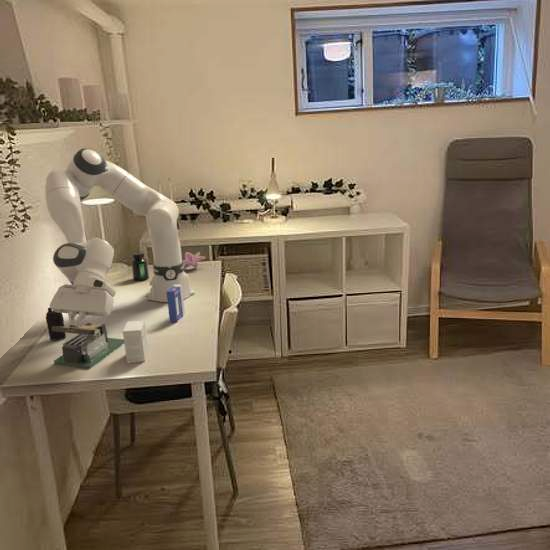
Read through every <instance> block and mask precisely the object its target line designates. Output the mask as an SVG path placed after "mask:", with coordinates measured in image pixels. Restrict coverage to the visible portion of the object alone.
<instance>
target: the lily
mask: <svg viewBox="0 0 550 550" xmlns="http://www.w3.org/2000/svg"><path fill="white" fill-rule="evenodd" d="M200 254H201V251H198V252H196V253H195V254H193V253H191V252H189V251H186V252H185V253H184V257H185V259H182V261H183V264H184V270H186V269H187V268H189V267H190V266H191V267H194V269H195V272H197V268H198V266H199V265H198V264H199V263H198V262H200V261H202V260H205V259H206V258H207V257H206V256H204V255H203V256H202V255H200Z"/></svg>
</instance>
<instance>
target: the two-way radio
mask: <svg viewBox="0 0 550 550" xmlns="http://www.w3.org/2000/svg"><path fill="white" fill-rule="evenodd" d="M45 320H46V326H47V331H48V335H49V339H50V340H52V341H57V340H58V341H59V340H63V339H65V338H66V333H65V332H55V331H52V326H61V327H65V321H64V315H63V313H58V312H55V311H53V310H52V309H51V308H50V307H47V312H46V314H45Z"/></svg>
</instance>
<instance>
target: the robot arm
mask: <svg viewBox="0 0 550 550" xmlns="http://www.w3.org/2000/svg"><path fill="white" fill-rule="evenodd" d="M95 186H96V187H98V188H101V189H102V190H103V191H104V192H105V193H107V194H108V195H109V196H111V197H112V198H114V199H115V200H116V201H118V202H119V203H120V204H122V205H123V206H124V207H126V209H127V208H128V209H129V210H131V211H134V212H136V213H138V214H140V215H141V216H144V217H145V219H146V220H145V221H146V226H147V230H148V236H149V239H150V244H151V251H152V258H153V264H152V269H153V274H154V275H153V277H152V278H151V279H150V280H149V285H150V286H151V288H150V291H149V293H148V296H147V300H149V301H156V302H159V303H168V301H167V291H168V290H169V289H170V288H172V287H173V286H174V285H182V293H183V300H185V299H188V298H189V297H190V296H193V295H195V294H196V291H195V290H194V289H192V288H191V286H190V285H191V284H190V276H189V275H188V274H187V273H186V272H185V269H184V264H183V257H182V248H181V241H180V238H179V236H180V235H179V232H178V226H177V221H178V218H179V216H180V212H179V211H180V209H179V207H178V205H177V204H176V202H175V201H173V200H172V199H171V198H168V197H167V196H165V195H164V194H162V193H160V192H158V191H157V190H155V189H153V188H152V187H149V186H148V185H147V184H145V183H143V182H142V181H140V180H139V179H138V178H136V177H135V176H134V175H132V174H131V173H130V172H129V171H127V170H125V169H123V168H122V167H120V166H119V165H117V164H115V163H113V162H111V161H109V160H106V159H104V157H103V156H102V155H101V154H100V153H99V152H98V151H97V150H94V149H91V148H87V147H86V148H80V149H79V150H78V151H77V152H76V153H75V154H74V155H73V157H72V160H71V161H70V162H69V164H68V166H67V168H66V169H63V168H58V169H54V170H52V171H50V172H48V174H47V176H46V179H45V192H44V193H45V204H46V207H47V211H48V213H49V215H50V217H51V219H52V220H53V222H54V223H55V225H57V226H58V227H59V229H60V231H61V232H62V233H63V235H64V237H65V238H66V241H67V243H63V244H62V245H60V246H59V247H57V248H56V250H55V251H54V254H53V257H52V260H53V264H54V265H55V267H57V268H58V270H59V271H60V272H61V273H62V275H64V276H65V277H66V278H67V280H68V281H69V283H70V284H66V283H65V284H63V285H61V286H59V287H58V289H57V291H56V292H55V294H54V295H53V297H52V299H51V300H50V303H49V308H51V309H52V311H55V312H58V313H62V314H67V315H68V323H67V327H72V328H73V327H76V328H78V327H80V326H81V323H82V322H83V321H84V320H85V319H86V318H87V316H91V317H92V316H93V317H103V318H107V317H108V316H110V314H111V312H112V310H113V306H114V301H115V298H114V297H115V295H116V293H117V292H116V290H115V289H114V288H113V287H112V286H111V285H110V284H108V283H107V282H106V278H107V274H108V273H109V271H110V270H111V267H112V264H113V260H114V256H115V249H114V247H113V246H112V244H111V243H110V242H109V241H107V240H105V239H103V238H100V237H93V238H91V239H90V240H88V239H87V234H86V230H85V223H84V218H83V209H82V202H81V201H84V200H85V199H87V197H88V196H90V193H91V192H92V190H93V189H94V188H95ZM77 315H78V316H77ZM76 317H77V318H76ZM75 318H76V319H75Z"/></svg>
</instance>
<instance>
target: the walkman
mask: <svg viewBox="0 0 550 550" xmlns="http://www.w3.org/2000/svg"><path fill="white" fill-rule="evenodd" d="M167 301H168V302H167V307H168V316H169V322H170V323H178V322H179V321H180V320H181V319H182V318H183V317H184V316H185V315H184V314H186V313H185V305H184V299H183V293H182V285H174V286H173V287H172V288H170V289H169V290H168V291H167ZM180 318H181V319H180ZM179 319H180V320H179ZM178 320H179V321H178ZM177 321H178V322H177Z"/></svg>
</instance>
